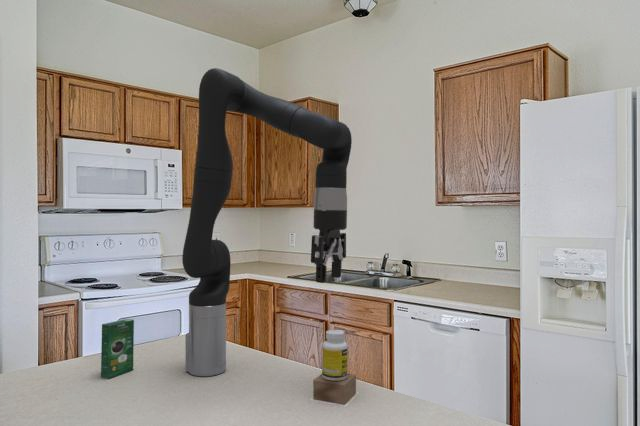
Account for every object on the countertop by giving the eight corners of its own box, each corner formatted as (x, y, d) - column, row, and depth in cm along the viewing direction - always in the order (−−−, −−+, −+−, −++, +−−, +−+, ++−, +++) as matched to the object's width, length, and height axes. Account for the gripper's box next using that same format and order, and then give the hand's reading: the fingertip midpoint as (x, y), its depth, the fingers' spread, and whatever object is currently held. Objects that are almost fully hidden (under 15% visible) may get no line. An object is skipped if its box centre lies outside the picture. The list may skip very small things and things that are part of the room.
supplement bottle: (345, 382, 102) (345, 335, 102) (319, 380, 103) (320, 334, 103) (349, 374, 107) (349, 329, 107) (324, 372, 108) (324, 328, 108)
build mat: (292, 402, 105) (292, 396, 105) (316, 383, 116) (316, 379, 116) (346, 411, 100) (346, 406, 100) (365, 391, 111) (365, 386, 111)
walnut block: (313, 399, 103) (313, 380, 103) (326, 388, 110) (326, 370, 110) (344, 404, 101) (344, 385, 101) (355, 393, 107) (355, 374, 107)
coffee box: (126, 368, 127) (126, 317, 127) (134, 369, 125) (134, 318, 125) (100, 377, 119) (100, 323, 119) (108, 379, 118) (108, 325, 118)
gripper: (328, 208, 119) (326, 274, 119) (301, 207, 106) (299, 282, 106) (357, 208, 116) (355, 277, 116) (333, 208, 103) (331, 285, 103)
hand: (328, 279), depth 111 cm, fingers open, 8 cm apart
